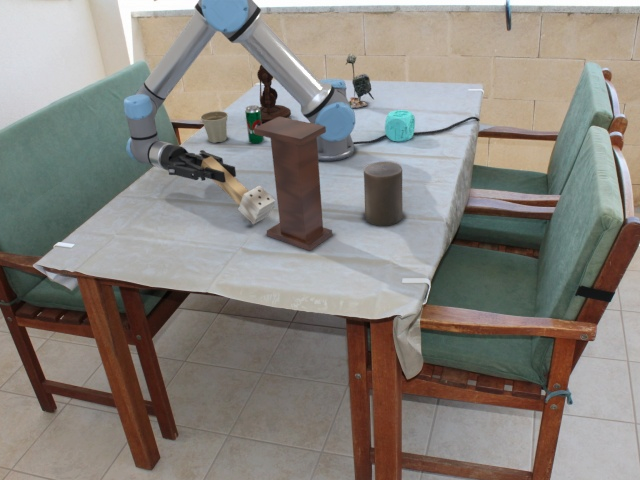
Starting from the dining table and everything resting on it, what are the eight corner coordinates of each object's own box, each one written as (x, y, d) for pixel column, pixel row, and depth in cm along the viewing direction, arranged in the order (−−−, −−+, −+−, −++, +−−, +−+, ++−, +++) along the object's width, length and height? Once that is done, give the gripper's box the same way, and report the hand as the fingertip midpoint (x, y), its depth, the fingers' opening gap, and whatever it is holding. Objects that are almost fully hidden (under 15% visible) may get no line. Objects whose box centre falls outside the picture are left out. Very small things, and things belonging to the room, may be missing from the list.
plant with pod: (371, 109, 240) (370, 54, 229) (341, 108, 243) (339, 54, 232) (375, 102, 246) (374, 48, 236) (346, 101, 249) (344, 48, 239)
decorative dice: (384, 140, 213) (384, 117, 208) (391, 132, 219) (391, 109, 215) (408, 142, 210) (408, 119, 206) (414, 133, 216) (415, 110, 212)
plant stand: (332, 235, 162) (325, 126, 146) (310, 251, 156) (300, 138, 141) (289, 221, 169) (279, 116, 154) (266, 236, 163) (253, 128, 148)
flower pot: (226, 145, 218) (222, 120, 214) (200, 144, 220) (196, 120, 216) (234, 135, 226) (231, 111, 222) (209, 134, 228) (205, 111, 224)
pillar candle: (392, 229, 162) (391, 174, 154) (358, 221, 167) (356, 167, 159) (408, 212, 169) (409, 159, 161) (375, 205, 174) (374, 153, 166)
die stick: (269, 215, 171) (275, 199, 166) (253, 224, 167) (260, 208, 162) (212, 162, 175) (217, 145, 171) (196, 170, 171) (201, 153, 167)
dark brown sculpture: (253, 113, 245) (247, 60, 234) (292, 111, 244) (287, 57, 233) (249, 127, 232) (242, 71, 221) (289, 125, 231) (284, 68, 221)
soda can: (266, 139, 221) (262, 105, 214) (260, 145, 217) (256, 110, 210) (252, 138, 222) (248, 104, 216) (246, 144, 218) (242, 109, 212)
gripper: (193, 159, 189) (252, 176, 176) (149, 180, 178) (208, 199, 165) (189, 135, 185) (248, 150, 172) (144, 154, 174) (204, 172, 161)
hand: (229, 174), depth 168 cm, fingers closed on die stick, 3 cm apart
